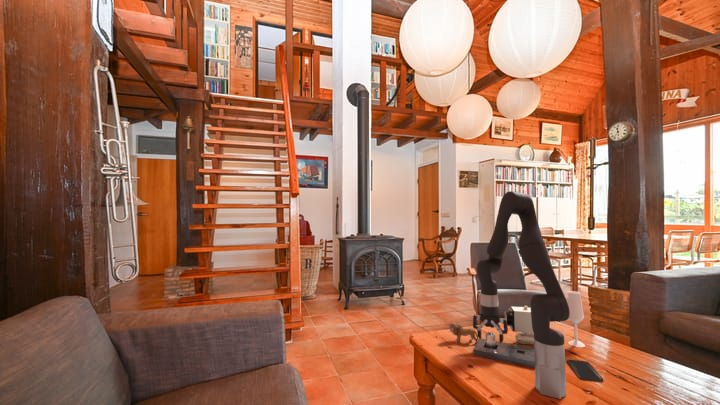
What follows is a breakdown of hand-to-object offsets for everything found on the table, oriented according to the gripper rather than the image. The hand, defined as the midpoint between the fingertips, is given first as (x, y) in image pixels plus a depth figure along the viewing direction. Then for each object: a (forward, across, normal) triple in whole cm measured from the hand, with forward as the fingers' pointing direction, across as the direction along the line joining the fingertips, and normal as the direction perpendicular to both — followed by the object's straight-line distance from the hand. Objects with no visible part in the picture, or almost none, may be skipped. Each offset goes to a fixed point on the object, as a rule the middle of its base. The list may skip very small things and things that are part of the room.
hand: (490, 340), depth 142 cm
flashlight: (+5, 0, 0) cm, 5 cm away
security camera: (+5, +13, +18) cm, 23 cm away
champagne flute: (+5, +33, +28) cm, 44 cm away
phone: (+6, +34, 0) cm, 34 cm away
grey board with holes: (+5, +6, 0) cm, 8 cm away
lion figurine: (+5, -13, +5) cm, 15 cm away
